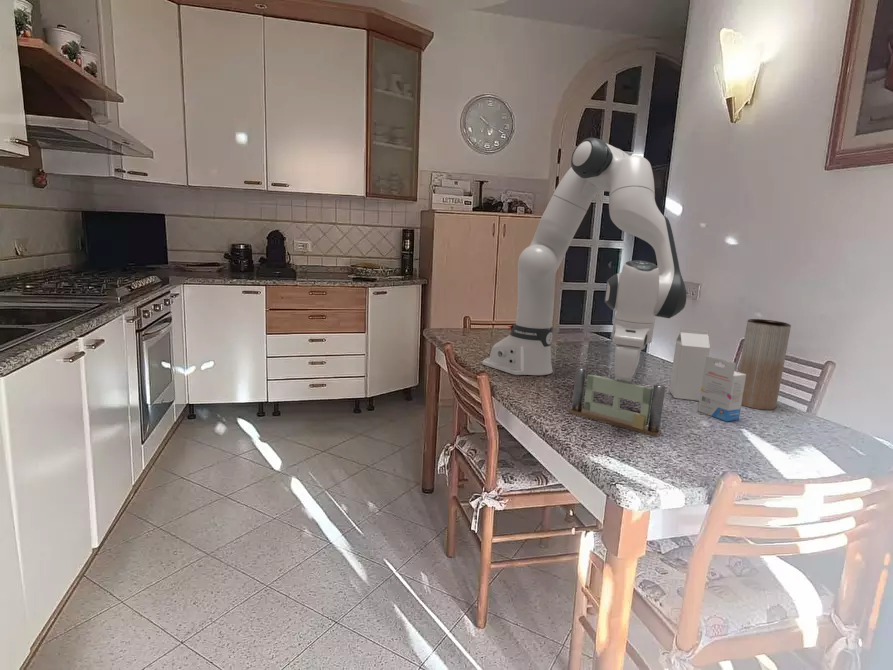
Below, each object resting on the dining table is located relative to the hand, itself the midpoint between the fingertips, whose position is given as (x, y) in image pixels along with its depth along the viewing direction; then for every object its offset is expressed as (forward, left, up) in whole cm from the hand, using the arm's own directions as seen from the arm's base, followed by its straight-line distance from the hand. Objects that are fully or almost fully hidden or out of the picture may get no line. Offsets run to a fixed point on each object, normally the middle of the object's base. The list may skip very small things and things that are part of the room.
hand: (624, 390), depth 127 cm
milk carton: (+5, +34, -8) cm, 35 cm away
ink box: (+16, +23, -8) cm, 29 cm away
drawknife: (-1, -3, -7) cm, 8 cm away
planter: (+21, +42, -8) cm, 47 cm away
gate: (0, -3, -6) cm, 7 cm away
